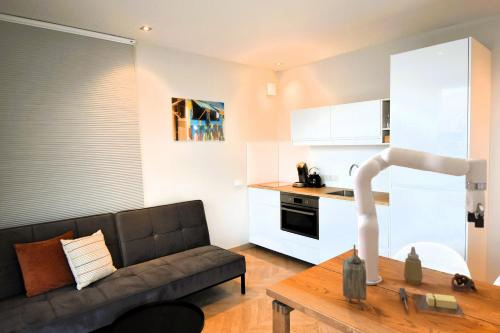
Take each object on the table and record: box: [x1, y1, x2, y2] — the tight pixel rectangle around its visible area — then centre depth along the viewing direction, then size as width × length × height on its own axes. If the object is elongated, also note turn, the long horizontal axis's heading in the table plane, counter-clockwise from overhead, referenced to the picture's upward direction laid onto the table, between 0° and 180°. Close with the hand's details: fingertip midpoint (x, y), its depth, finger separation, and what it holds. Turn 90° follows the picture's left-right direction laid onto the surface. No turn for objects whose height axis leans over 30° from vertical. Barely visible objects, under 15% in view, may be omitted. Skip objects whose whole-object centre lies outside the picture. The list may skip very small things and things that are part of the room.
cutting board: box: [411, 292, 465, 317], centre depth 126 cm, size 16×14×1 cm
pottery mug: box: [451, 272, 478, 293], centre depth 139 cm, size 12×10×8 cm
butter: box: [433, 293, 458, 309], centre depth 125 cm, size 7×5×3 cm
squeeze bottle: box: [403, 246, 424, 285], centre depth 147 cm, size 8×8×18 cm
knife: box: [399, 287, 409, 313], centre depth 130 cm, size 2×18×3 cm, turn 160°
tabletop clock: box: [342, 244, 367, 310], centre depth 131 cm, size 14×9×25 cm, turn 163°
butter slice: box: [425, 292, 434, 306], centre depth 127 cm, size 2×5×3 cm, turn 160°
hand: (475, 224), depth 135 cm, fingers open, 9 cm apart
